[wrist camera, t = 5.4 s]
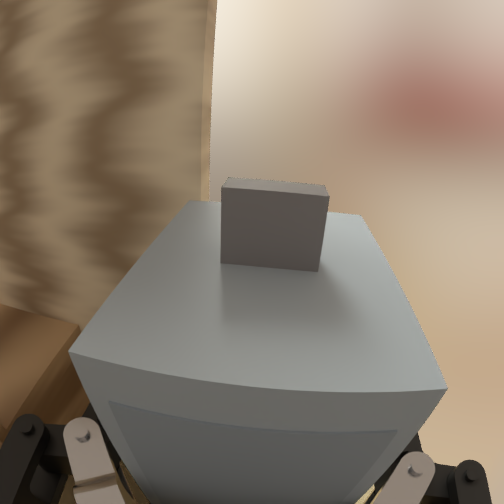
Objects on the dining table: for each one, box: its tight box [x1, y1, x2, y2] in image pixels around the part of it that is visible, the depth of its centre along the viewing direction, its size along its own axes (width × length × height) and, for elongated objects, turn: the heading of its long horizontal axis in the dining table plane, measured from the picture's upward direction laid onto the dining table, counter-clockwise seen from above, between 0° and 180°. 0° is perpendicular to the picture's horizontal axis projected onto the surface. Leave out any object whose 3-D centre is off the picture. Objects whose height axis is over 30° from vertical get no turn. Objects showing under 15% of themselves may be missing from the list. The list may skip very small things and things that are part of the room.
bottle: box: [68, 177, 448, 504], centre depth 10 cm, size 6×7×17 cm
